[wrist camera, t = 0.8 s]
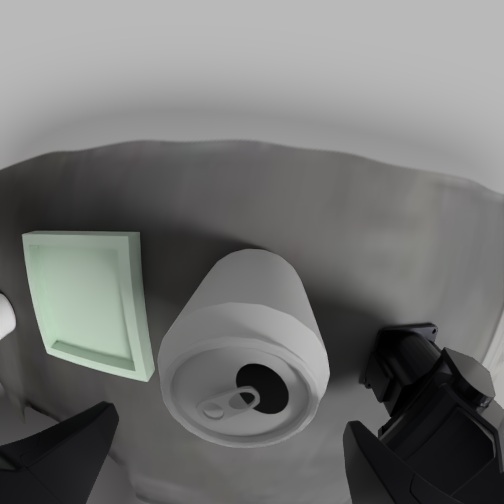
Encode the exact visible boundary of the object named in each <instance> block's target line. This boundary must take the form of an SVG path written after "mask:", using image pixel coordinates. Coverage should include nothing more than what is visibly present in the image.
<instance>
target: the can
mask: <svg viewBox="0 0 504 504" xmlns="http://www.w3.org/2000/svg"><path fill="white" fill-rule="evenodd" d="M157 362H158V369H159V375H160V380H161V381H160V387H161V393H162V398H163V401H164V403H165V405H166V407H167V408H168V410H169V411H170V413H171V415H172V416H173V417H174V418H175V419H176V420H177V421H178V422H179V423H180V424H181V425H182V426H184V427H185V428H186V429H187V430H188V431H190V432H192V433H193V434H195V435H197V436H199V437H201V438H203V439H205V440H207V441H210V442H213V443H217V444H220V445H223V446H228V447H238V448H255V447H264V446H269V445H273V444H276V443H279V442H282V441H284V440H287V439H289V438H291V437H292V436H294V435H295V434H297V433H298V432H300V431H301V430H303V429H304V428H305V427H306V426H307V425H308V423H309V422H310V421H311V420H312V419H313V417H314V416H315V415H316V412H317V409H318V405H319V402H320V399H321V398H322V397H323V395H324V394H325V391H326V387H327V383H328V380H329V376H330V371H329V364H328V357H327V352H326V349H325V346H324V343H323V340H322V337H321V334H320V332H319V329H318V326H317V323H316V320H315V317H314V315H313V312H312V309H311V306H310V303H309V301H308V298H307V295H306V292H305V290H304V287H303V284H302V281H301V279H300V278H299V276H298V274H297V273H296V271H295V269H294V268H293V266H291V265H290V264H289V263H288V262H287V261H285V260H284V259H283V258H282V257H281V256H279V255H276V254H274V253H271V252H269V251H266V250H259V249H244V250H240V251H236V252H232V253H230V254H228V255H227V256H225V257H224V258H222V259H220V260H219V261H217V263H216V264H215V265H214V266H213V268H212V269H211V270H210V271H209V272H208V274H207V275H206V277H205V278H204V279H203V281H202V282H201V284H200V285H199V287H198V288H197V290H196V291H195V292H194V294H193V295H192V297H191V298H190V300H189V301H188V302H187V304H186V305H185V307H184V308H183V310H182V311H181V313H180V314H179V316H178V317H177V319H176V320H175V321H174V323H173V324H172V326H171V327H170V329H169V330H168V332H167V333H166V335H165V336H164V338H163V339H162V343H161V346H160V350H159V354H158V358H157Z"/></svg>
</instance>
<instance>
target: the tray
mask: <svg viewBox="0 0 504 504" xmlns="http://www.w3.org/2000/svg"><path fill="white" fill-rule="evenodd" d="M22 237H23V247H24V255H25V263H26V269H27V275H28V281H29V286H30V291H31V296H32V301H33V305H34V309H35V313H36V317H37V321H38V325H39V328H40V332H41V335H42V338H43V342H44V345H45V348H46V351H47V353H48V354H51V355H54V356H56V357H59V358H62V359H65V360H68V361H71V362H74V363H77V364H80V365H83V366H86V367H90V368H93V369H96V370H100V371H103V372H107V373H111V374H115V375H119V376H123V377H127V378H131V379H136V380H140V381H145V382H148V381H149V379H150V377H151V376H152V374H153V372H154V371H155V367H154V361H153V356H152V350H151V344H150V337H149V330H148V323H147V315H146V307H145V298H144V288H143V277H142V263H141V246H140V232H111V231H33V232H29V233H25V234H22Z"/></svg>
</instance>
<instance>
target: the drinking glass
mask: <svg viewBox="0 0 504 504" xmlns="http://www.w3.org/2000/svg"><path fill="white" fill-rule="evenodd" d="M15 326H16V318H15V314H14V311H13V308H12V306H11V304H10V302H9V301H8V299H7V298H6V297H5V296H4V295H3V294H1V293H0V340H1V339H2V338H3V337H5V336H6V335H7V334H9V333H10V332H12V331H13V330H14V329H15Z"/></svg>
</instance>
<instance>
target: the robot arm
mask: <svg viewBox="0 0 504 504" xmlns="http://www.w3.org/2000/svg"><path fill="white" fill-rule="evenodd" d="M433 329H434V330H433ZM432 330H433V331H432ZM437 332H438V327H437V326H436V325H423V326H410V327H395V328H383V329H381V330H380V331H379V333H378V336H377V340H376V344H375V348H374V351H373V352H372V353H371V357H370V360H369V364H368V367H367V370H366V379H365V382H364V385H365V387H366V388H367V389H370V388H372V389H373V392H374V394H375V396H376V398H377V400H378V401H379V403H382V402H383V403H384V405H385V407H386V409H387V411H388V414H389V416H390V417H391V419H390V420H389V421H388V422H387V423H386V424H385V425H384V426H382V427H381V428H380V429H379V430H378V438H377V437H376V436H375V435H374V434H373V433H372V432H371V431H369V430H368V429H367V428H366V427H365V426H364V425H363V424H362V423H361V422H360V421H349V422H348V423H347V425H346V428H345V431H344V434H343V446H344V457H345V469H346V476H347V480H348V485H349V489H350V494H351V499H352V504H504V409H502V407H501V406H500V405H499V404H498V403H497V402H496V401H495V400H494V397H495V391H494V387H493V383H492V379H491V376H490V372H489V371H488V370H487V369H486V368H485V367H484V366H482V365H481V364H480V363H479V362H478V361H476V360H475V359H474V358H472V357H469V356H467V355H464V354H462V353H459V352H456V351H454V350H451V349H448V348H446V347H444V348H443V350H442V351H441V350H440V349H439V348H438V346H437V345H436V344H435V343H434V341H435V338H436V335H437ZM384 333H386V334H385V335H383V334H384ZM382 335H383V336H382ZM369 383H370V384H369ZM118 422H119V416H118V413H117V411H116V409H115V406H114V404H113V403H111V402H108V401H102V402H100V403H98V404H96V405H94V406H92V407H91V408H89V409H87V410H85V411H83V412H81V413H79V414H77V415H75V416H73V417H71V418H69V419H67V420H64V421H62V422H60V423H58V424H56V425H54V426H52V427H50V428H48V429H46V430H43V431H41V432H39V433H37V434H34V435H32V436H30V437H27V438H24V439H21V440H18V441H15V442H12V443H9V444H5V445H1V446H0V504H86V502H87V500H88V497H89V495H90V493H91V490H92V488H93V485H94V483H95V481H96V479H97V476H98V474H99V472H100V469H101V467H102V465H103V463H104V460H105V458H106V456H107V454H108V452H109V449H110V447H111V444H112V440H113V437H114V434H115V431H116V428H117V425H118Z"/></svg>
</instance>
